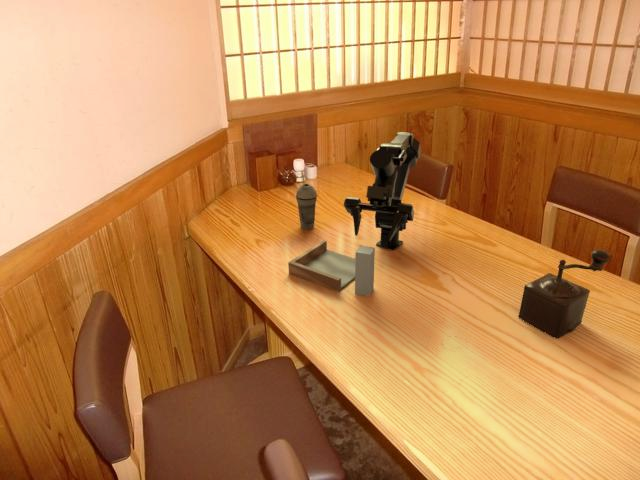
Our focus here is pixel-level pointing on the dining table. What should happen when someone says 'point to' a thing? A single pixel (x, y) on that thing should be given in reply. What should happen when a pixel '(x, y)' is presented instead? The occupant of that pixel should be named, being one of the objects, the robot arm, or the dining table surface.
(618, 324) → the dining table surface
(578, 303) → the manual coffee grinder
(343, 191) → the dining table surface
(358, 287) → the slate block
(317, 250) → the tray
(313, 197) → the beverage cup
